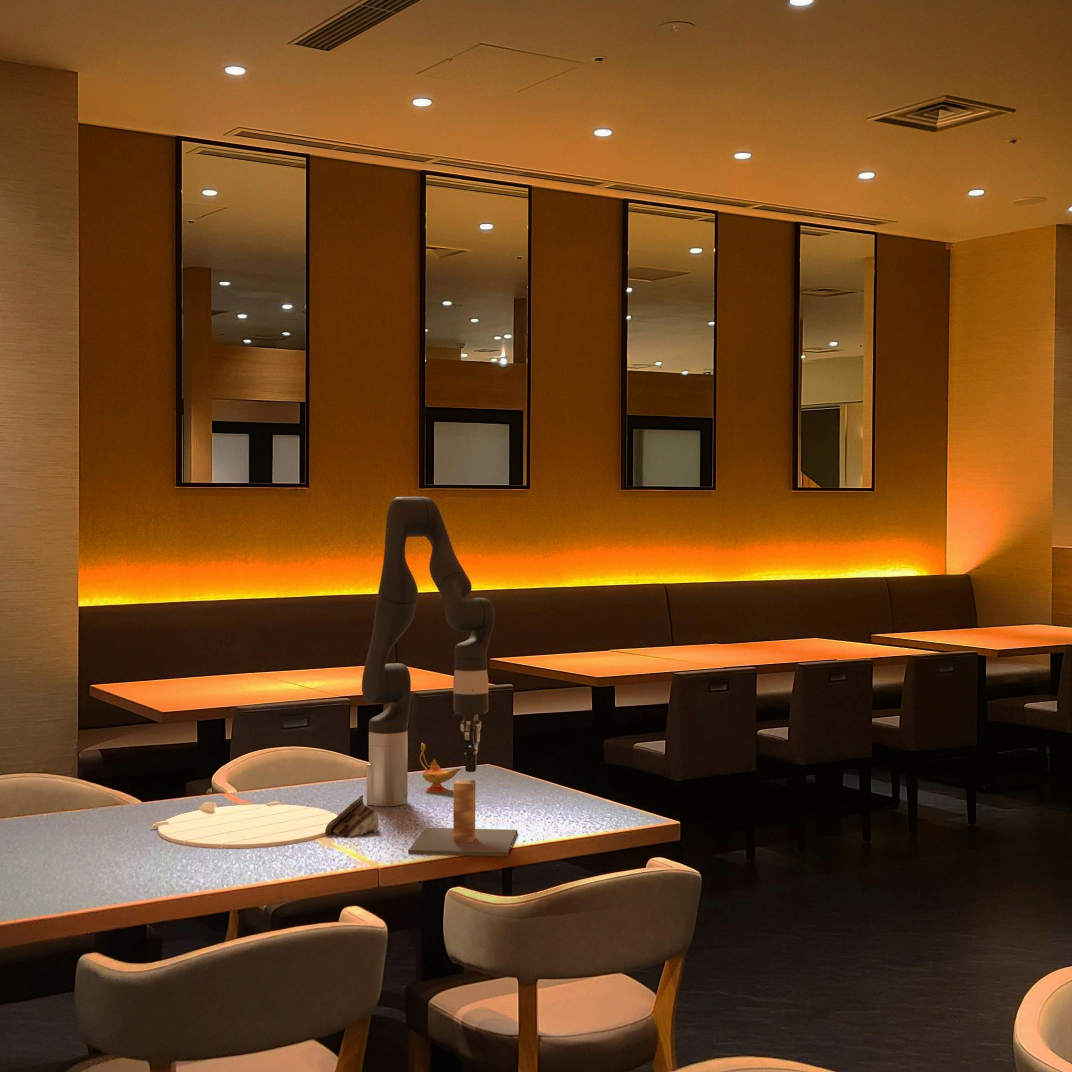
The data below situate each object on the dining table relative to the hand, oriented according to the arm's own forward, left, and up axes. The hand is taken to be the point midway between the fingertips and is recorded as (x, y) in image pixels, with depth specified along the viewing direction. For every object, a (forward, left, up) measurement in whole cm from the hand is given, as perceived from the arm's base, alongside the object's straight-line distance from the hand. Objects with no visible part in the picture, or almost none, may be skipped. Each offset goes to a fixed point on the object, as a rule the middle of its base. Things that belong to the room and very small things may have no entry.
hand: (471, 771), depth 281 cm
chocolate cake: (-25, -2, -14) cm, 28 cm away
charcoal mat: (0, -9, -13) cm, 16 cm away
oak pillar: (0, -9, -13) cm, 15 cm away
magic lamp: (-14, +45, -14) cm, 49 cm away
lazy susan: (-49, +2, -14) cm, 51 cm away
